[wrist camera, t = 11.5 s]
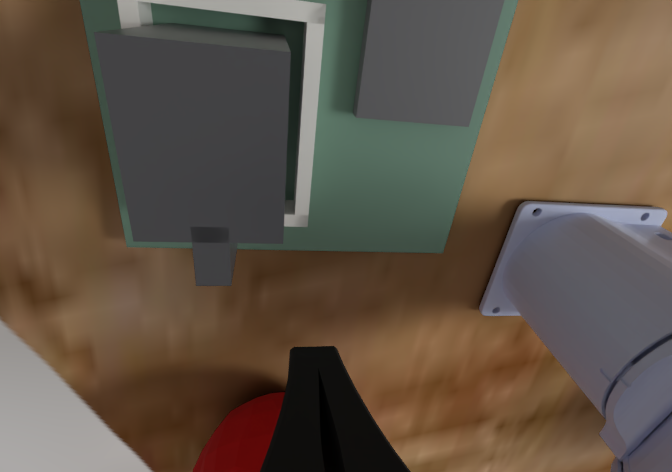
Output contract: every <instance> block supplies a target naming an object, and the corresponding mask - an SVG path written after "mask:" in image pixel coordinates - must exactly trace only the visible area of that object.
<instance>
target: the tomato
mask: <svg viewBox="0 0 672 472" xmlns="http://www.w3.org/2000/svg"><path fill="white" fill-rule="evenodd" d="M284 394H285V392H279V393H270V394H267V395H263V396H260V397H257V398H255V399H253V400H251V401H249V402H247V403H244V404H243V405H241V406H239V407H237V408H235V409H234V410H232V411H230V412H229V414H228V415H227V416H226V417H225V419H224V420H223V421H222V423H221V424H220V425H219V426H218V428H217V429H216V430H215V432H214V433H213V435H212V436H211V438H210V439H209V441H208V442H207V444H206V445H205V447H204V448H203V450H202V452H201V454H200V456H199V458H198V460H197V463H196V465H195V467H194V469H193V472H260V469H261V467H262V464H263V462H264V459H265V456H266V454H267V451H268V448H269V445H270V442H271V439H272V436H273V433H274V430H275V427H276V424H277V420H278V417H279V414H280V410H281V406H282V402H283V398H284Z"/></svg>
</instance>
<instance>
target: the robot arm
mask: <svg viewBox="0 0 672 472" xmlns="http://www.w3.org/2000/svg"><path fill="white" fill-rule="evenodd" d="M535 209H537V210H536V212H534V213H533V211H534V210H535ZM666 216H667V211H666V210H664V209H663V208H660V207H646V206H624V205H603V204H582V203H561V202H539V201H525V202H523V203H521V204H520V205H519V207H518V208H517V211H516V213H515V216H514V218H513V221H512V224H511V226H510V229H509V231H508V234H507V237H506V239H505V242H504V244H503V247H502V249H501V252H500V255H499V257H498V260H497V262H496V265H495V268H494V270H493V273H492V275H491V278H490V281H489V283H488V286H487V288H486V291H485V293H484V296H483V299H482V301H481V304H480V306H479V310H480V312H481V314H482V315H484V316H520V315H521V316H522V317H523V318H524V319H525V321H526V322H527V323H528V324H529V326H530V327H531V328H532V329H533V331H534V332H535V333H536V334H537V336H538V337H539V338H540V339H541V340H542V342H543V343H544V344H545V345H546V347H547V348H548V349H549V350H550V352H551V353H552V354H553V355H554V357H555V358H556V359H557V360H558V361H559V363H560V364H561V365H562V366H563V368H564V369H565V370H566V371H567V373H568V374H569V375H570V376H571V378H572V379H573V380H574V381H575V382H576V384H577V385H578V386H579V387H580V389H581V390H582V391H583V392H584V394H585V395H586V396H587V397H588V399H589V400H590V401H591V402H592V404H593V405H594V406H595V407H596V408H597V410H598V411H599V412H600V413H601V415H602V416H603V417H604V418H605V419H606V423H605V425H604V427H603V429H602V430H601V431H600V433H599V435H600V436H601V438H602V439H603V440H604V442H605V443H606V444H607V445H608V447H609V448H610V449H611V451H612V452H613V453H614V455H615V456H616V457H615V459H614V461H613V463H612V465H611V472H672V233H671V232H670V231H668V230H666V229H664V228H662V227H661V225H662V223H663V222H664V220H665V218H666ZM494 308H495V309H494ZM260 472H410V470H409V469H408V468H407V466H406V465H405V464H404V462H403V461H402V460H401V458H400V457H399V456H398V454H397V453H396V452H395V450H394V449H393V447H392V446H391V445H390V443H389V442H388V440H387V439H386V437H385V436H384V434H383V433H382V431H381V430H380V428H379V427H378V425H377V424H376V422H375V420H374V419H373V417H372V416H371V414H370V412H369V411H368V409H367V407H366V406H365V404H364V402H363V400H362V399H361V397H360V395H359V393H358V392H357V390H356V388H355V386H354V384H353V382H352V380H351V378H350V376H349V375H348V373H347V370H346V368H345V366H344V364H343V362H342V360H341V357H340V355H339V353H338V350H337V348H335V347H334V346H321V347H294V348H292V349H291V350H290V358H289V372H288V381H287V386H286V391H285V394H284V398H283V402H282V406H281V410H280V414H279V417H278V420H277V424H276V427H275V430H274V433H273V436H272V439H271V442H270V445H269V448H268V451H267V454H266V456H265V459H264V462H263V464H262V467H261V469H260Z"/></svg>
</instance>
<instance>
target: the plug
mask: <svg viewBox="0 0 672 472" xmlns="http://www.w3.org/2000/svg"><path fill="white" fill-rule="evenodd" d="M94 36H95V41H96V46H97V52H98V57H99V62H100V68H101V73H102V78H103V83H104V89H105V94H106V99H107V104H108V110H109V115H110V120H111V126H112V131H113V136H114V141H115V147H116V152H117V157H118V163H119V168H120V173H121V178H122V184H123V189H124V194H125V199H126V205H127V210H128V215H129V221H130V226H131V231H132V236H133V242H192V248H193V258H194V268H195V278H196V286H231V284H232V277H233V271H234V265H235V258H236V252H237V246H238V243H255V244H283V237H284V212H285V187H286V162H287V136H288V111H289V86H290V61H291V51H290V49H289V46H288V44H287V41H286V38H285V36H284V35H280V34H270V33H261V32H252V31H243V30H234V29H225V28H215V27H206V26H197V25H188V24H179V23H167V24H158V25H150V26H141V27H133V28H124V29H116V30H108V31H99V32H94Z"/></svg>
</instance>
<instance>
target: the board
mask: <svg viewBox="0 0 672 472" xmlns="http://www.w3.org/2000/svg"><path fill="white" fill-rule="evenodd" d="M517 3H518V0H80V5H81V10H82V15H83V21H84V26H85V31H86V36H87V41H88V47H89V52H90V57H91V62H92V68H93V73H94V78H95V83H96V88H97V94H98V99H99V104H100V109H101V114H102V120H103V125H104V130H105V135H106V141H107V146H108V151H109V156H110V161H111V167H112V172H113V177H114V182H115V188H116V193H117V198H118V203H119V208H120V214H121V219H122V224H123V229H124V234H125V240H126V245H127V247H150V248H192V242H133V236H132V231H131V226H130V221H129V215H128V210H127V205H126V199H125V194H124V189H123V184H122V178H121V173H120V168H119V163H118V157H117V152H116V147H115V141H114V136H113V131H112V126H111V120H110V115H109V110H108V104H107V99H106V94H105V89H104V83H103V78H102V73H101V68H100V62H99V57H98V52H97V46H96V41H95V36H94V32H99V31H108V30H116V29H124V28H133V27H141V26H150V25H158V24H167V23H179V24H188V25H197V26H206V27H215V28H225V29H234V30H243V31H252V32H261V33H270V34H280V35H284V36H285V38H286V41H287V44H288V46H289V49H290V51H291V61H290V86H289V111H288V136H287V162H286V187H285V212H284V237H283V244H255V243H238V246H237V249H254V250H305V251H357V252H408V253H443V251H444V248H445V245H446V241H447V238H448V235H449V231H450V228H451V224H452V221H453V218H454V214H455V211H456V208H457V204H458V201H459V198H460V194H461V191H462V187H463V184H464V181H465V177H466V174H467V171H468V167H469V164H470V161H471V157H472V154H473V151H474V147H475V144H476V140H477V137H478V134H479V130H480V127H481V124H482V120H483V117H484V114H485V110H486V107H487V104H488V100H489V97H490V93H491V90H492V87H493V83H494V80H495V77H496V73H497V70H498V67H499V63H500V60H501V57H502V53H503V50H504V46H505V43H506V40H507V36H508V33H509V30H510V26H511V23H512V20H513V16H514V13H515V10H516V6H517Z"/></svg>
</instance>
